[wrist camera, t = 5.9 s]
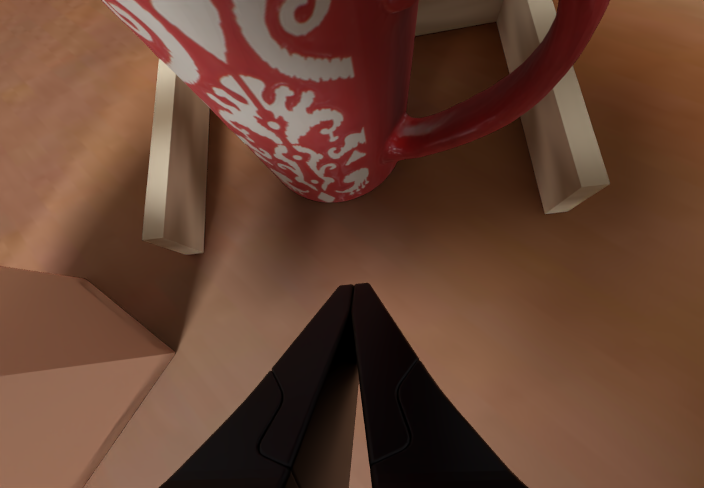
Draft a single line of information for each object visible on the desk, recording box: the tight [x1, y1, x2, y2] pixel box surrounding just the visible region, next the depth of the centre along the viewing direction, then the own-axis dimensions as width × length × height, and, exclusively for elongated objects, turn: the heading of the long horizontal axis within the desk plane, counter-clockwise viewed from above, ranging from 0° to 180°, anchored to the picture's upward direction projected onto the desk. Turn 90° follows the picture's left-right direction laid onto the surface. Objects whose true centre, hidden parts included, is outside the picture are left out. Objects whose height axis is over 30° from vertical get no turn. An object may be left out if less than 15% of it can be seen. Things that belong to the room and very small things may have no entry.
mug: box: [102, 0, 610, 202], centre depth 10 cm, size 13×9×14 cm
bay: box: [142, 0, 610, 255], centre depth 16 cm, size 12×19×3 cm, turn 95°
